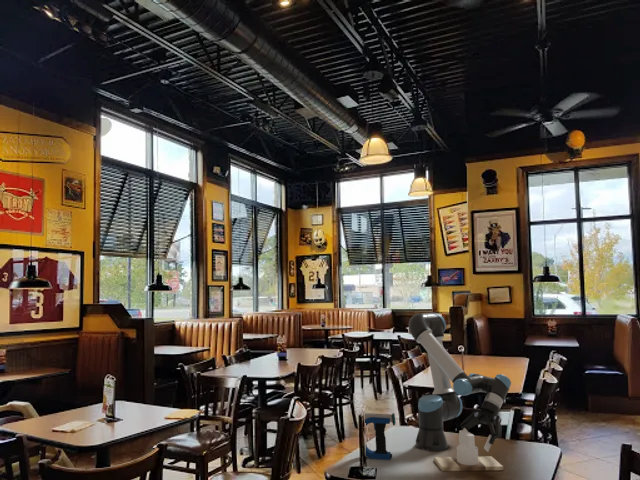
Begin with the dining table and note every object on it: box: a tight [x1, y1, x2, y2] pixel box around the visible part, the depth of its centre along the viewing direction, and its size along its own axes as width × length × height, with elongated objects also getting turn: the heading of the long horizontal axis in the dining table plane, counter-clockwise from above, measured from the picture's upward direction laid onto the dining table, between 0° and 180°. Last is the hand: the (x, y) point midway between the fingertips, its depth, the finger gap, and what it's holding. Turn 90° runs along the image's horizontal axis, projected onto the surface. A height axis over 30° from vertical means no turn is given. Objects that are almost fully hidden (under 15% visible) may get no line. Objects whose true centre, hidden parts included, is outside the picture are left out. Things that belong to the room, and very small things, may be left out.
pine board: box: [433, 455, 504, 472], centre depth 215 cm, size 26×13×2 cm, turn 92°
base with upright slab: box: [456, 429, 479, 465], centre depth 216 cm, size 9×9×12 cm
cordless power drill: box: [364, 412, 397, 461], centre depth 226 cm, size 5×16×20 cm, turn 78°
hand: (472, 446), depth 217 cm, fingers open, 13 cm apart
